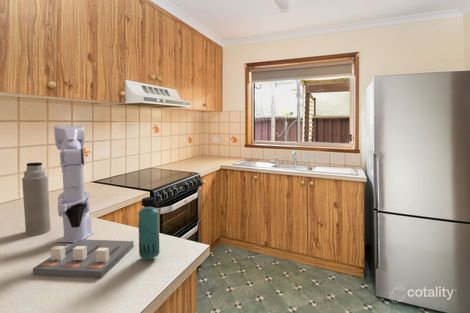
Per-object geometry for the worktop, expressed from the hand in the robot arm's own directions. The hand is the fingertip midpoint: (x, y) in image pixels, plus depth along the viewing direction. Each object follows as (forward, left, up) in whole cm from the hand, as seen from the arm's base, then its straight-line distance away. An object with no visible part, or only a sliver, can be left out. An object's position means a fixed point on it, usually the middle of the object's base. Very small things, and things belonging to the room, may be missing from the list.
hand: (75, 226), depth 86 cm
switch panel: (+3, +6, -9) cm, 12 cm away
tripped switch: (+7, +6, -7) cm, 12 cm away
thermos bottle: (-17, -28, -10) cm, 34 cm away
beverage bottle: (+1, +25, -10) cm, 27 cm away
